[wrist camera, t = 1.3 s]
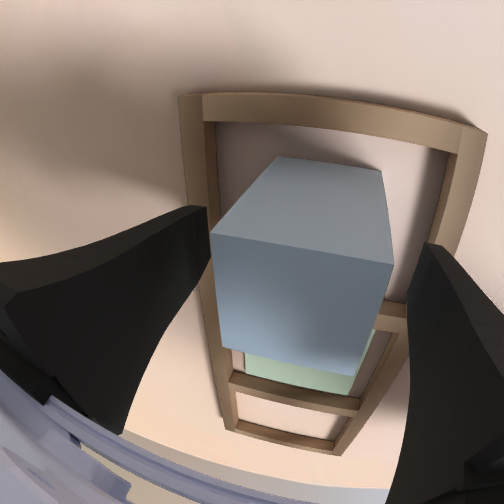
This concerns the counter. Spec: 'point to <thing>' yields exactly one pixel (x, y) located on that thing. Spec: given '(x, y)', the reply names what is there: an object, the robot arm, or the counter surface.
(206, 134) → the rack
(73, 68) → the counter surface
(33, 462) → the robot arm
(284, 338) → the block
